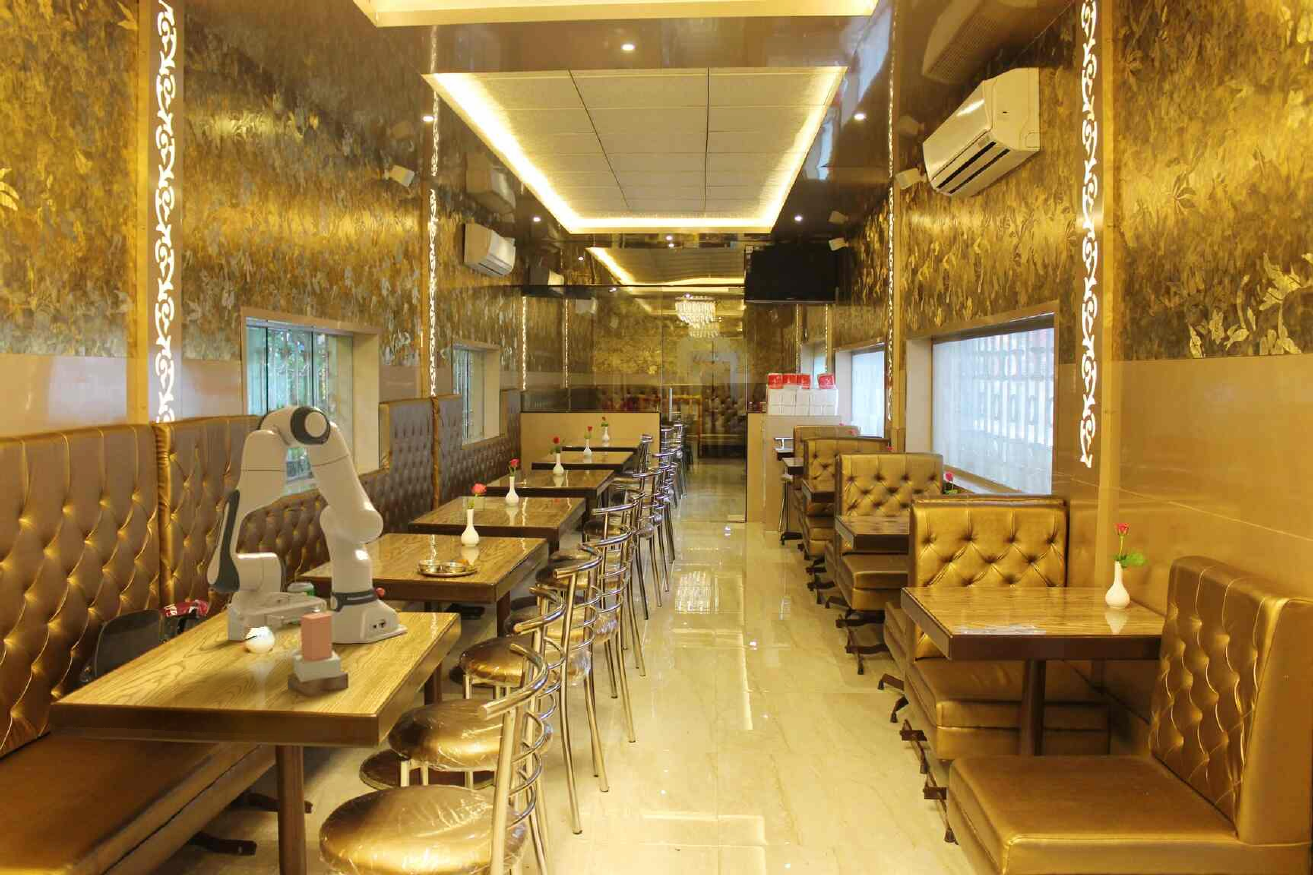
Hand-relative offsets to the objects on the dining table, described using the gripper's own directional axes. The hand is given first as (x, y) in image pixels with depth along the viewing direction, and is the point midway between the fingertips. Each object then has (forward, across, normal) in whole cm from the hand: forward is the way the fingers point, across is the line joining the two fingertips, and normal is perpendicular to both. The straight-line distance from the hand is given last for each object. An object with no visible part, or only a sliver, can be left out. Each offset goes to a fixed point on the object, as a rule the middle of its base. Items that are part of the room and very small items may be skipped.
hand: (300, 617), depth 225 cm
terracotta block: (+9, -1, +8) cm, 12 cm away
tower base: (+9, -1, +16) cm, 19 cm away
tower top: (+9, -1, +12) cm, 15 cm away
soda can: (-57, +30, +16) cm, 66 cm away
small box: (-52, +10, +16) cm, 55 cm away
